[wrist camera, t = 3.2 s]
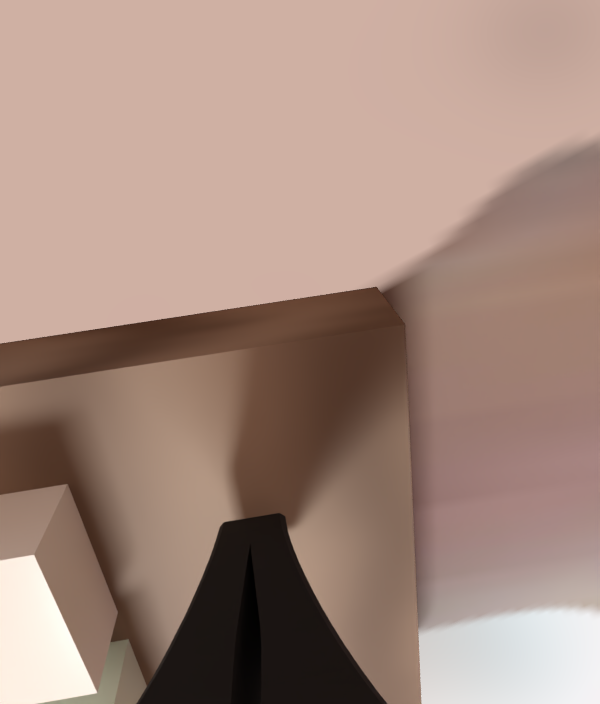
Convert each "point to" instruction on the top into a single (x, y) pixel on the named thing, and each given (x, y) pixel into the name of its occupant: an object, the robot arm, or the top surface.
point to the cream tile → (50, 600)
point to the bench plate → (232, 459)
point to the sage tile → (115, 679)
